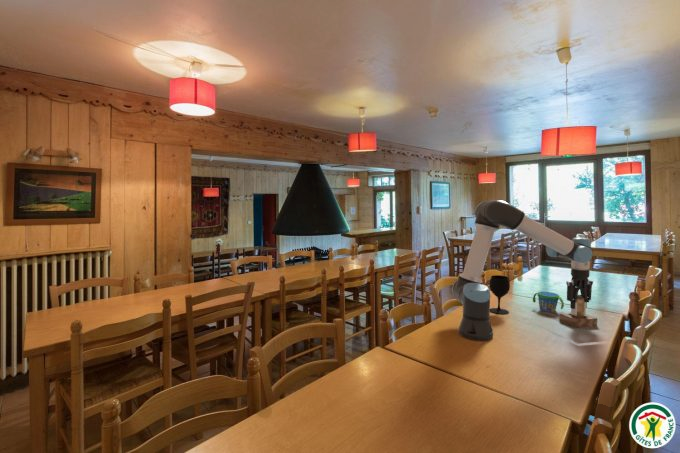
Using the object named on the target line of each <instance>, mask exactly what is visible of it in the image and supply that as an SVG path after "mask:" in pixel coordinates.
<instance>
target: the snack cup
mask: <svg viewBox="0 0 680 453" xmlns="http://www.w3.org/2000/svg"><path fill="white" fill-rule="evenodd" d="M536 296H537V298H538V306H539V310H540V312H546V313H553V312H557V306H558V302H559V301H560V303H561V304H560V305H561V306H560V310H563V309H564V307H565V306H564V305H565V304H564V300H563V298H562V297H560V294H558V293H555V292H550V291H538V292H536V293H534V295H533V296H532V302H533V303H536V301H537V300H536Z"/></svg>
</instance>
